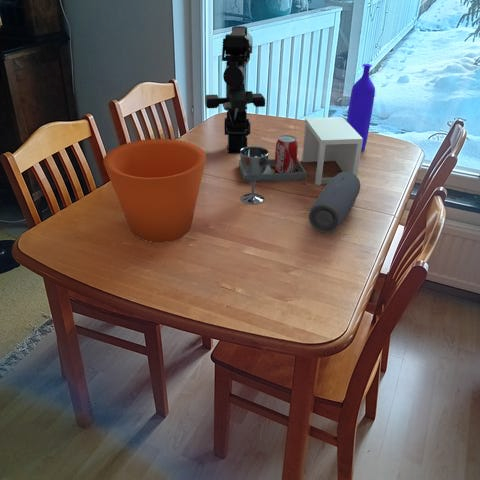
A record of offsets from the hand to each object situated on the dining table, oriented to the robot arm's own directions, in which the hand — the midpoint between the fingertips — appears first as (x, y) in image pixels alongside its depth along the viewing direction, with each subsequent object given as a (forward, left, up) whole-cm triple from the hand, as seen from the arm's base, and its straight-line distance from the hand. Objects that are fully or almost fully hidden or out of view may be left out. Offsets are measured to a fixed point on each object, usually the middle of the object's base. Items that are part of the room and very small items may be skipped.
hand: (234, 126), depth 156 cm
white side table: (+30, -9, -13) cm, 34 cm away
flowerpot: (-25, -39, -13) cm, 48 cm away
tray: (+11, -9, -13) cm, 19 cm away
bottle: (+46, +10, -13) cm, 49 cm away
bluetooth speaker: (+23, -39, -13) cm, 47 cm away
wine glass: (+2, -26, -13) cm, 29 cm away
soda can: (+16, -9, -13) cm, 23 cm away
